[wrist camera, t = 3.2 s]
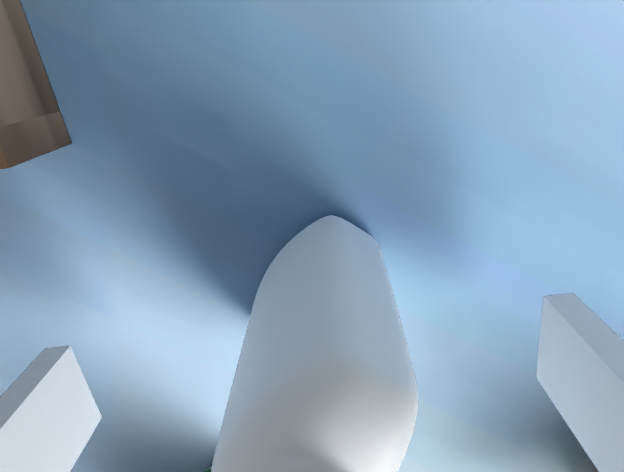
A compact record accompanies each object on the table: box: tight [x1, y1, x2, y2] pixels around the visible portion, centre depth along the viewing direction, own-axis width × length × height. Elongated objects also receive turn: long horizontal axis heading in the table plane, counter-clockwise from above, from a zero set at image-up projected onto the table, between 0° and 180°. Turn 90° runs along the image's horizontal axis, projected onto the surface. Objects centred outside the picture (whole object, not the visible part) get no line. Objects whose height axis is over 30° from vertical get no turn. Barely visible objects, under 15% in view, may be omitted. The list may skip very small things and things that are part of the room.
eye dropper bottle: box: [211, 215, 419, 472], centre depth 10 cm, size 4×6×12 cm
